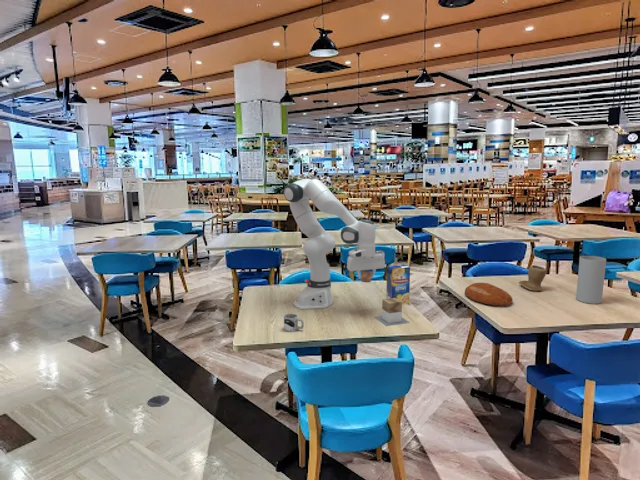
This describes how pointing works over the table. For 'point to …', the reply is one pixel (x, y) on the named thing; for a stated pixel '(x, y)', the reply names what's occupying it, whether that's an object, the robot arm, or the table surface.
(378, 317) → the blue-grey board
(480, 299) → the bread
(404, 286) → the beverage box
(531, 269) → the brown boot
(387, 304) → the tan wooden block
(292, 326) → the mug
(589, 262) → the cylinder vase
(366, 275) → the brown rounded knob
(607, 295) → the table surface
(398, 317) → the grey tower block
